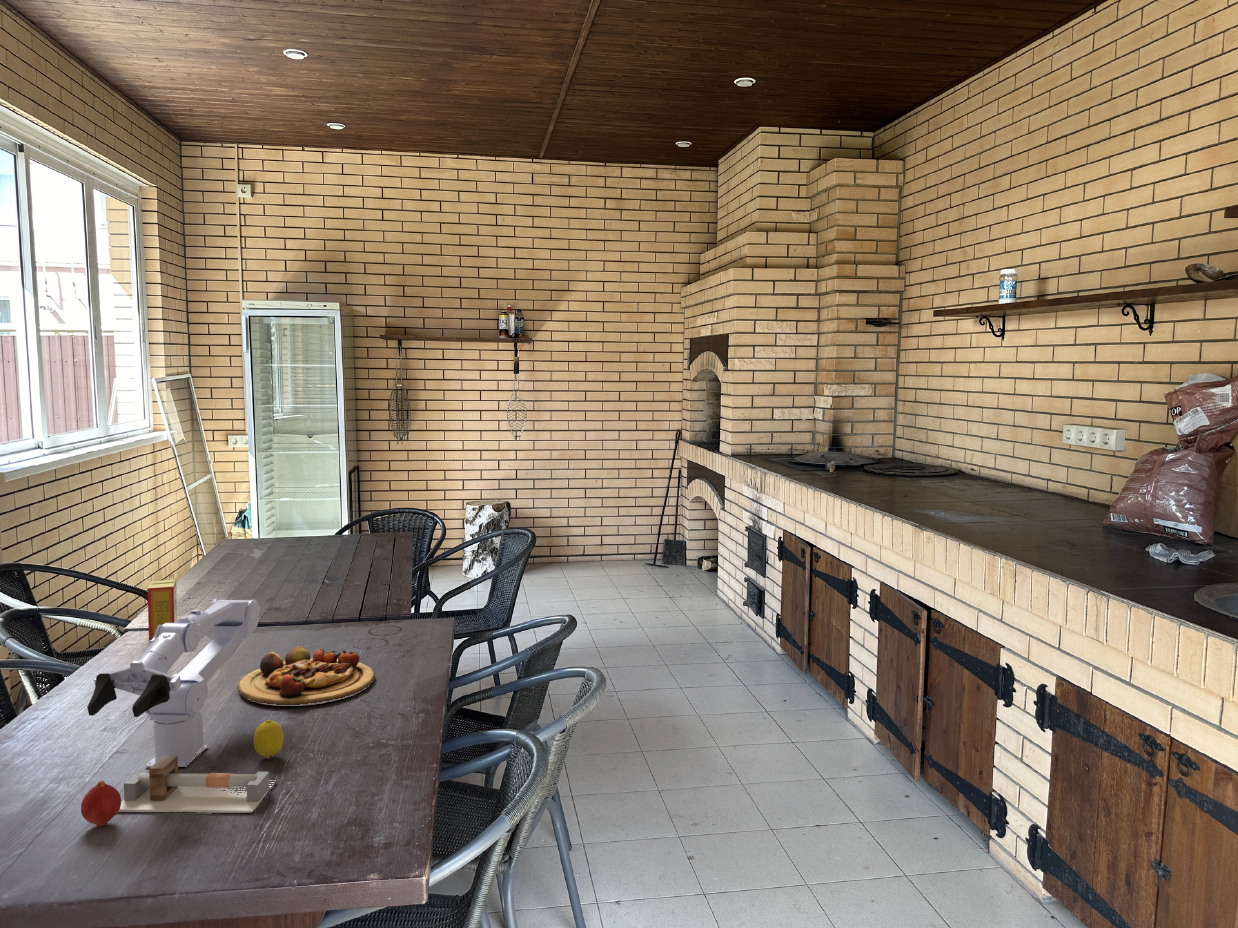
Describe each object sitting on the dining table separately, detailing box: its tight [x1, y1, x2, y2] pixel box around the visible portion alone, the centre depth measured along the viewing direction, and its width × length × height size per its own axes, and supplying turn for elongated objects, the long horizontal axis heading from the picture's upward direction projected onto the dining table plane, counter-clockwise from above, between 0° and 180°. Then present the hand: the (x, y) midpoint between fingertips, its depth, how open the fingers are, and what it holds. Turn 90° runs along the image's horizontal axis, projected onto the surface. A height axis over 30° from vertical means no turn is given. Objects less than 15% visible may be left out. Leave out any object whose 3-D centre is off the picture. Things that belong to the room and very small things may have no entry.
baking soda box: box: [147, 578, 178, 641], centre depth 241 cm, size 10×6×16 cm
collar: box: [148, 755, 179, 800], centre depth 149 cm, size 2×5×6 cm, turn 2°
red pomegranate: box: [80, 780, 122, 827], centre depth 139 cm, size 6×6×8 cm
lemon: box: [253, 719, 285, 758], centre depth 165 cm, size 6×6×8 cm
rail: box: [118, 769, 274, 812], centre depth 150 cm, size 24×11×5 cm, turn 92°
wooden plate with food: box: [237, 645, 375, 705], centre depth 206 cm, size 32×32×8 cm
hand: (112, 711), depth 143 cm, fingers open, 7 cm apart
